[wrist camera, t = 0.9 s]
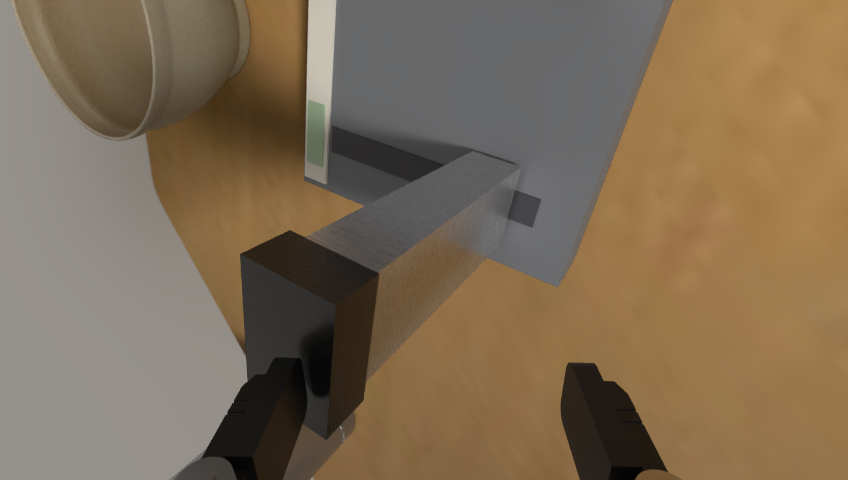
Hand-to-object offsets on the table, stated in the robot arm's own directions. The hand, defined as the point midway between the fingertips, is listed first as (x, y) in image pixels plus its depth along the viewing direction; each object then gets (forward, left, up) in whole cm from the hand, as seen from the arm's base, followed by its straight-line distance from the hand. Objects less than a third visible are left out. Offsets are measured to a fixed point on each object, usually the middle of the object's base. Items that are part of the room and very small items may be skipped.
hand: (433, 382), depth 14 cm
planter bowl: (-31, +13, -19) cm, 38 cm away
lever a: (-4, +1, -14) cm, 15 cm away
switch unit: (-7, +9, -19) cm, 22 cm away
